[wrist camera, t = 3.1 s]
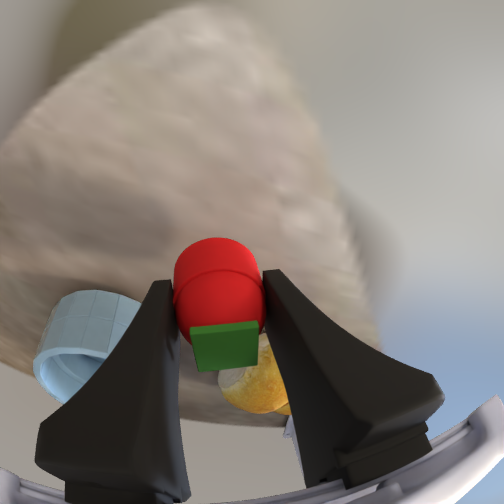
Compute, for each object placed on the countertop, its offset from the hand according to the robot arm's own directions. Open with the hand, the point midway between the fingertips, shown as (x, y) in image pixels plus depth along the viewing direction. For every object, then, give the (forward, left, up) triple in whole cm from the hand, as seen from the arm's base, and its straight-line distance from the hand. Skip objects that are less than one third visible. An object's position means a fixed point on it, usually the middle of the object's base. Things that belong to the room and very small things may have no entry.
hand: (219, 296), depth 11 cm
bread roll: (-11, -4, -4) cm, 12 cm away
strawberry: (0, 0, -1) cm, 1 cm away
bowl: (-6, +7, -4) cm, 10 cm away
